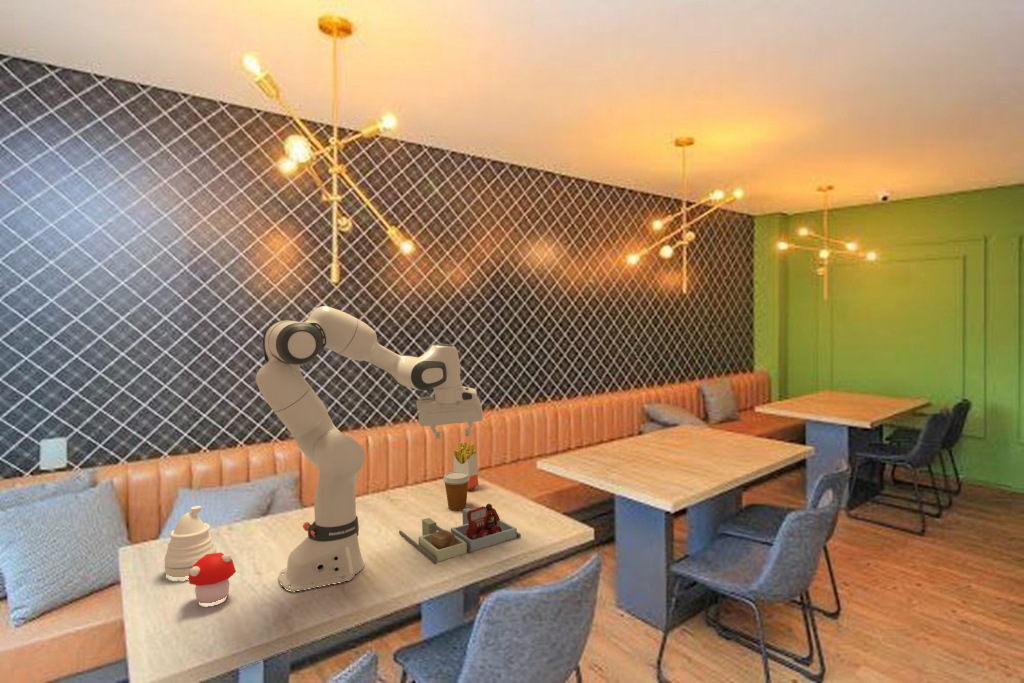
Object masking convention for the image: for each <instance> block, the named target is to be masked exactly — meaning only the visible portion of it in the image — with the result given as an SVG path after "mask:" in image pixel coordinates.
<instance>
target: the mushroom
mask: <svg viewBox="0 0 1024 683" xmlns="http://www.w3.org/2000/svg"><path fill="white" fill-rule="evenodd" d="M235 573H237V571H236V567H235V564H234V562H233V559H232V556H231V554H229V553H223V552H217V553H213V554H206V555H205V556H203V557H202V558H201V559H200V560H198V561H196V562H194V563H193V567H192V568H191V570H190V573H189V578H188V579H189V581H188V583H189V584H190V585H193V586H195V588H194V593H195V596H196V600H197V603H198V602H200V603H212V602H216V601H218V600H221V599H223V598H225V597H226V596H227V595H228V596H229V591H230V580H229V579H230V578H231V577H232V576H233V575H234V574H235Z"/></svg>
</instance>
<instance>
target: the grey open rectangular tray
mask: <svg viewBox="0 0 1024 683" xmlns="http://www.w3.org/2000/svg"><path fill="white" fill-rule="evenodd" d="M470 510H473V509H472V508H470V507H466V508H465V509H462V510H461V511H462V525H458V526H455V527H451V528H450V532H451V533H453V534H455V535H456V536H457V537H459V538H460V539H462V540H463V541H464V542H466V543H467V547H469V548H470V549H471V552H475V551H477V550H480V549H484V547H485V548H487V547H490V546H494V545H497V543H498V544H501V543H504V542H507V541H506V540H508V541H510V540H509V539H511V540H513V539H512V538H514V539H516V538H515V537H517V532H518V529H517V527H515V526H513V525H512V524H510V523H508V522H506V521H504V520H503V519H500V527H501V529H502V532H498V533H495V534H491V535H488V536H485V537H481V538H478V539H469V538H468V537H467V535H466V532H467V529H468V528H469V521H468V519H467V513H468V511H470ZM517 538H518V537H517ZM503 541H504V542H503ZM500 542H501V543H500Z"/></svg>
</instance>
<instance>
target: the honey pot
mask: <svg viewBox="0 0 1024 683" xmlns="http://www.w3.org/2000/svg"><path fill="white" fill-rule="evenodd" d="M201 510H202V506H201V505H194V506H191V507H190V512H186V513H184V514H183V515H182V516H181V517H180V518H179V520H178V521H177V523H176V525H175V527H174V529H173V530H171V531H170V532H169V537H170V541H169V543H168V545H167V549H166V553H165V556H164V560H163V561H164V574H165V573H166V574H167V575H169V576H172V577H185V576H189V573H190V570H191V568H192V567H193V563H194V562H196V561H198V560H200V559H201V558H202V557H203V556H205V555H206V554H213V553H218V552H217V546H216V544H215V543H214V540H213V538H212V537H213V536H212V535H211V534H210V532H209V531H210V530H211V525H210V524H209V523H206V522H203V520H201V518H200V517H199V515H198V514H200V512H201Z"/></svg>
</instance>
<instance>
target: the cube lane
mask: <svg viewBox="0 0 1024 683" xmlns="http://www.w3.org/2000/svg"><path fill="white" fill-rule="evenodd" d="M421 525H422V526H421V527H422V533H421V534H422V535H421V536H418V545H420V546H421V547H422V548H423V549H424V550H426V551H427V552H428V553H429V554H431V555H432V556H433V557H434V558H436V563H438V562H441V561H444V560H447V559H451V558H454V557H457V556H461V555H465V554H467V553H468V552H467V543H466V542H464V541H463V540H462V539H460V538H459V537H457V536H456V535H455V545H453V546H450V547H446V548H443V549H440V550H438V549H437V548H436V547H434V546H433V545H432V544H431V534H434V533H437V532H440V531H437V528H436V525H437V522H436V521H435V520H433V519H432V518H430V517H426V518H424V519H423V518H422V520H421ZM445 530H446V531H448V532H451V530H448V529H445Z"/></svg>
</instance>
